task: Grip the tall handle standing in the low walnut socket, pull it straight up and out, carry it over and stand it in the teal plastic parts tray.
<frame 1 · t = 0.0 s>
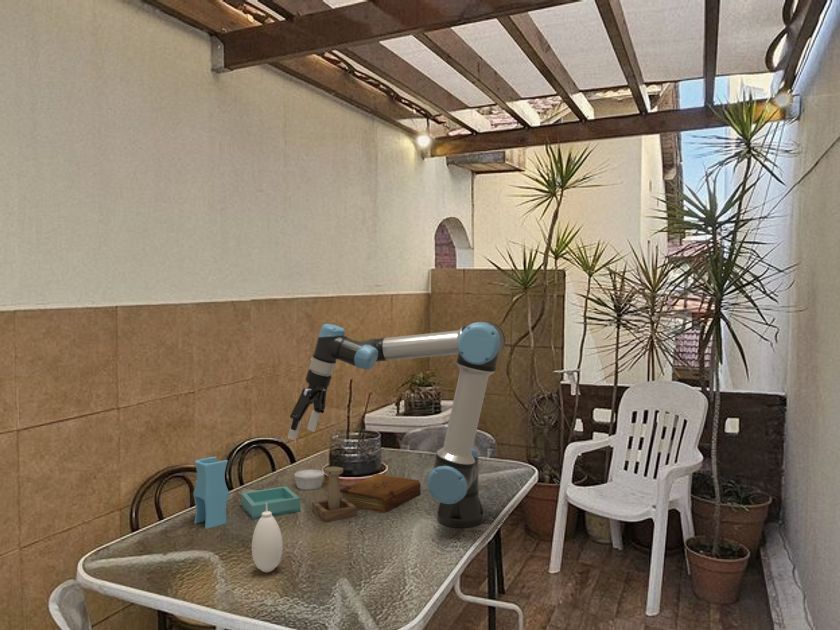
hand: (301, 434, 199), 28 cm above the table, tool tilted 20°, fingers open, 13 cm apart
ramekin: (309, 487, 238), on the table
white air blower bulb: (267, 571, 163), on the table
handle: (334, 514, 207), resting in socket
socket: (334, 513, 207), on the table
diary: (381, 501, 221), on the table
vase: (211, 523, 199), on the table
parts tray: (270, 508, 212), on the table
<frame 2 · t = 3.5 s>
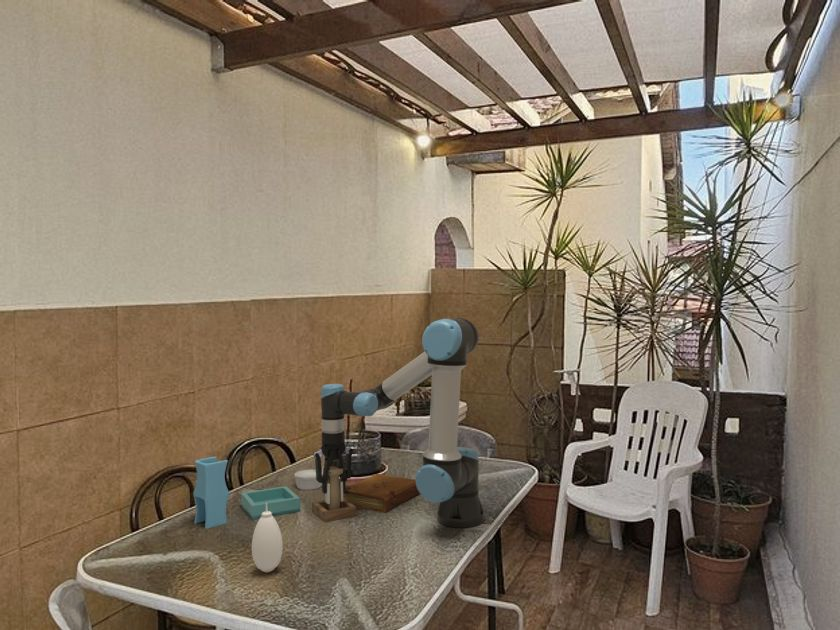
hand: (334, 501, 206), 4 cm above the table, tool pointing down, fingers closed on handle, 4 cm apart
handle: (334, 514, 207), resting in socket, touching gripper
everything else where it was.
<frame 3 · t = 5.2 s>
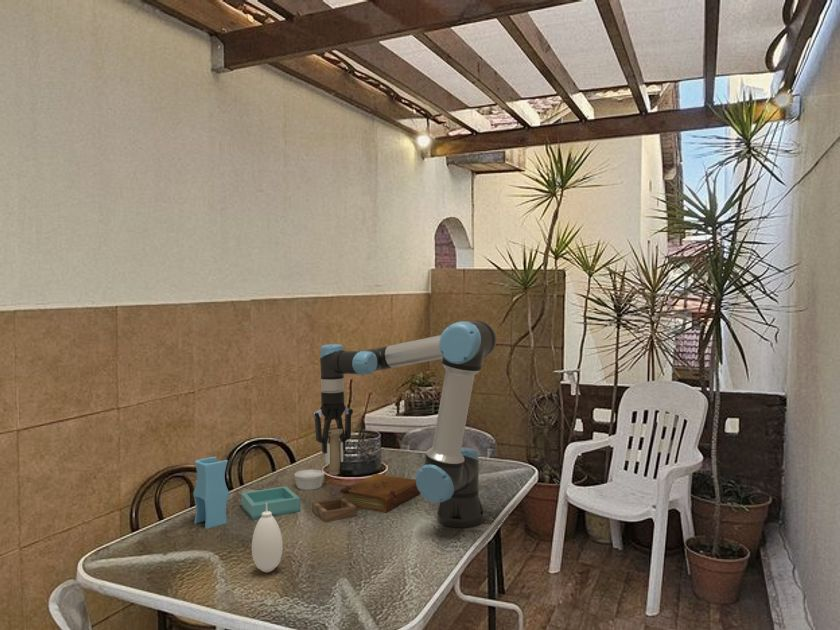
hand: (334, 461, 206), 17 cm above the table, tool pointing down, fingers closed on handle, 4 cm apart
handle: (334, 474, 206), point 13 cm above the table, touching gripper
everything else where it was.
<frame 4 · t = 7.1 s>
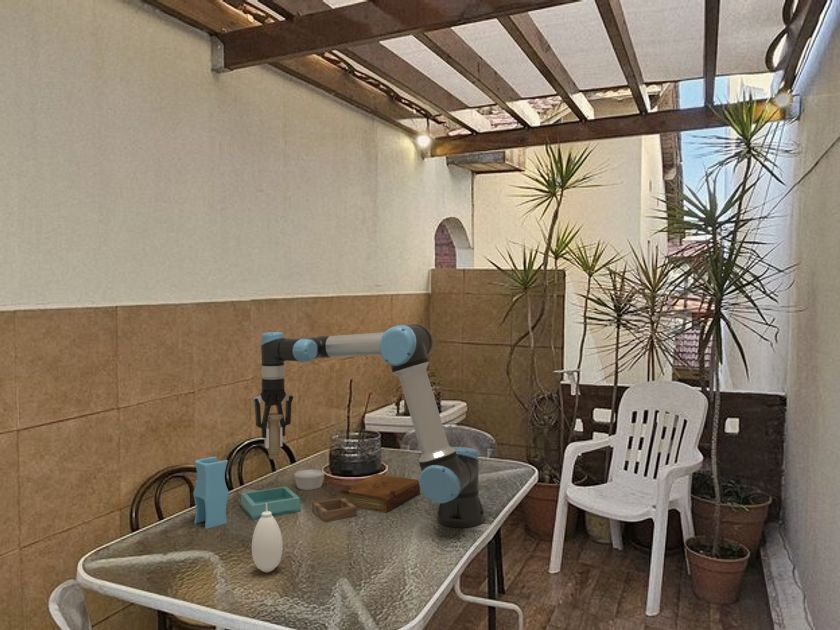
hand: (273, 446, 212), 21 cm above the table, tool pointing down, fingers closed on handle, 4 cm apart
handle: (273, 459, 212), point 17 cm above the table, touching gripper
everything else where it was.
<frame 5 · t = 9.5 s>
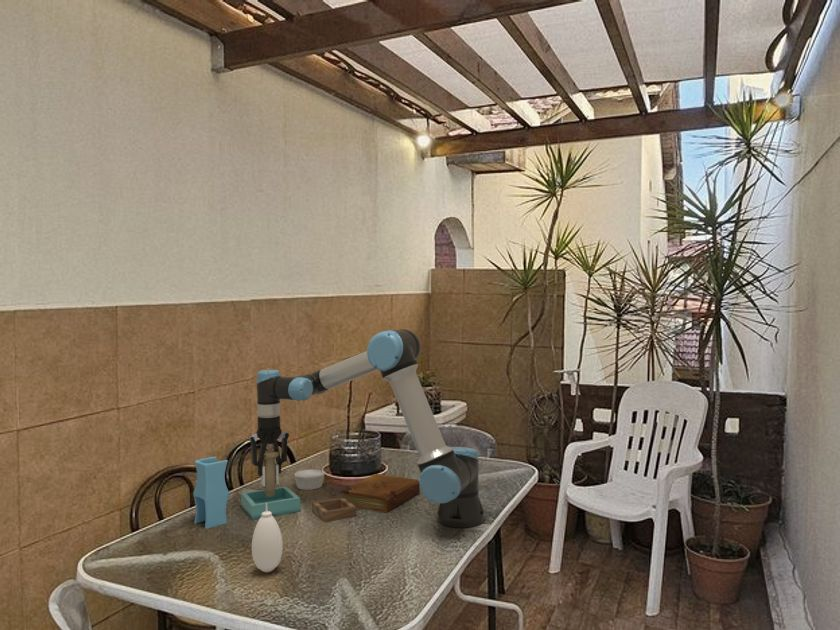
hand: (269, 484, 212), 8 cm above the table, tool pointing down, fingers closed on handle, 4 cm apart
handle: (269, 496, 212), point 4 cm above the table, touching gripper
everything else where it was.
when the fingers open (7 cm above the table, at t = 10.6 s): handle drops 1 cm, resting on parts tray.
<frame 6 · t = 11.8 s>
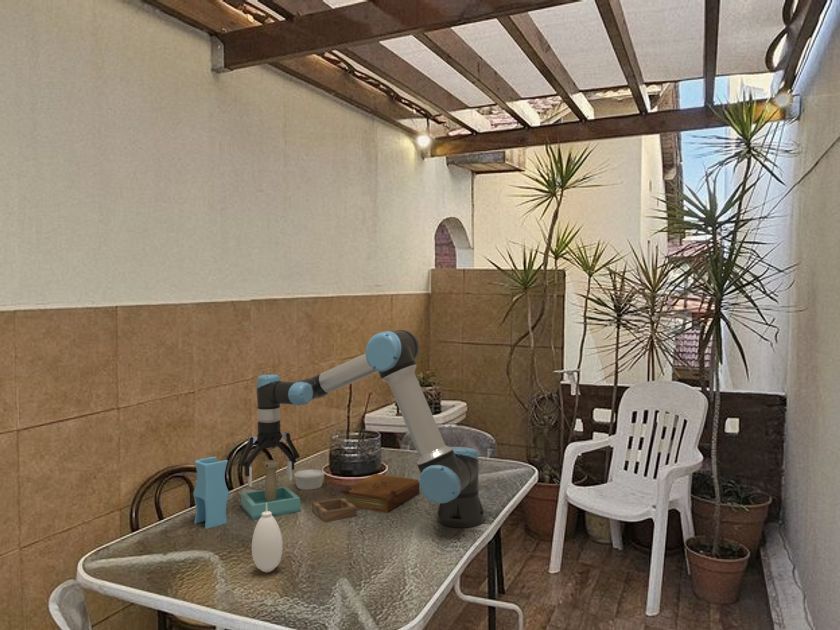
hand: (270, 482, 212), 9 cm above the table, tool pointing down, fingers open, 13 cm apart
handle: (270, 506, 212), point 1 cm above the table, touching parts tray
everything else where it was.
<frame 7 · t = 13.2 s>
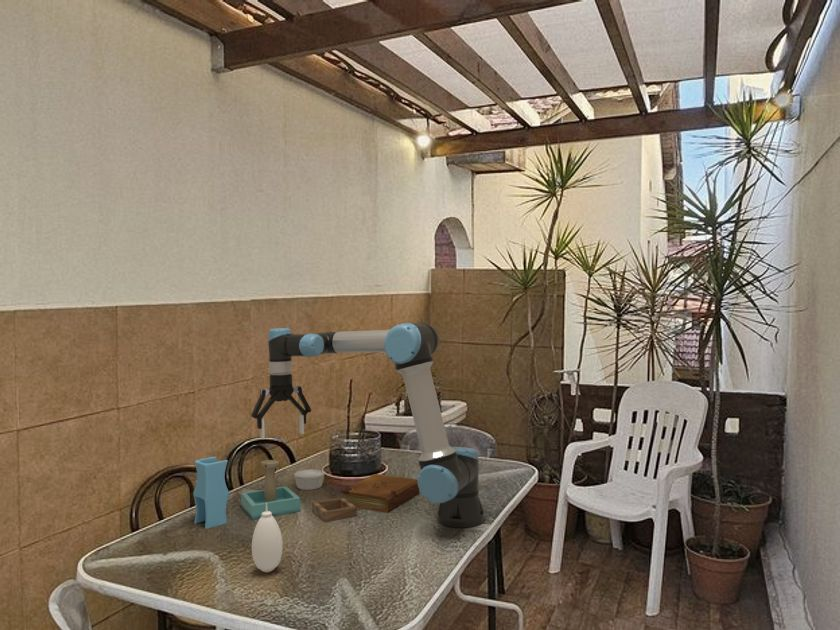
hand: (282, 435, 212), 25 cm above the table, tool pointing down, fingers open, 13 cm apart
nothing on the table moved.
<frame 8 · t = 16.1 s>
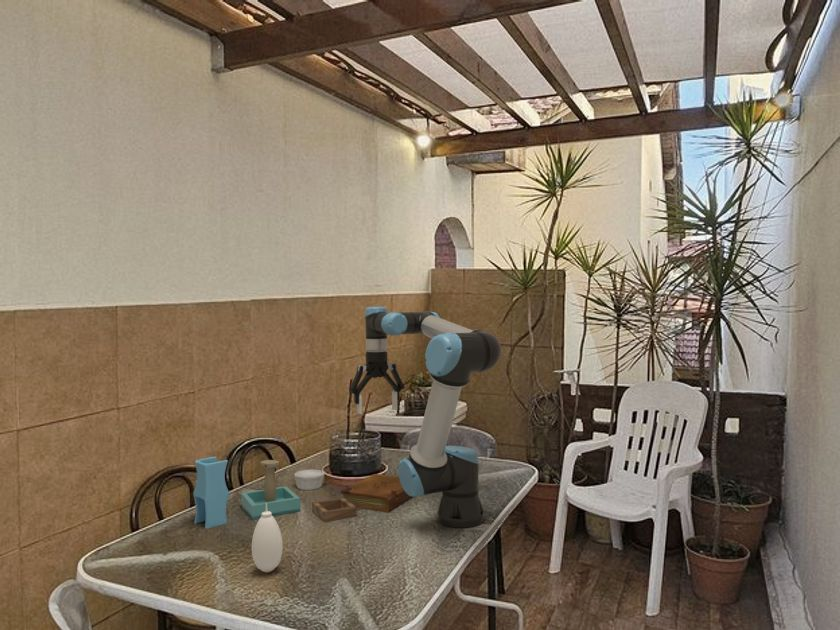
hand: (377, 411, 218), 32 cm above the table, tool pointing down, fingers open, 13 cm apart
nothing on the table moved.
at the end: handle inside the target area on the parts tray (0.1 cm from its centre), point 0.8 cm above the parts tray's base; the gripper is holding nothing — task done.
